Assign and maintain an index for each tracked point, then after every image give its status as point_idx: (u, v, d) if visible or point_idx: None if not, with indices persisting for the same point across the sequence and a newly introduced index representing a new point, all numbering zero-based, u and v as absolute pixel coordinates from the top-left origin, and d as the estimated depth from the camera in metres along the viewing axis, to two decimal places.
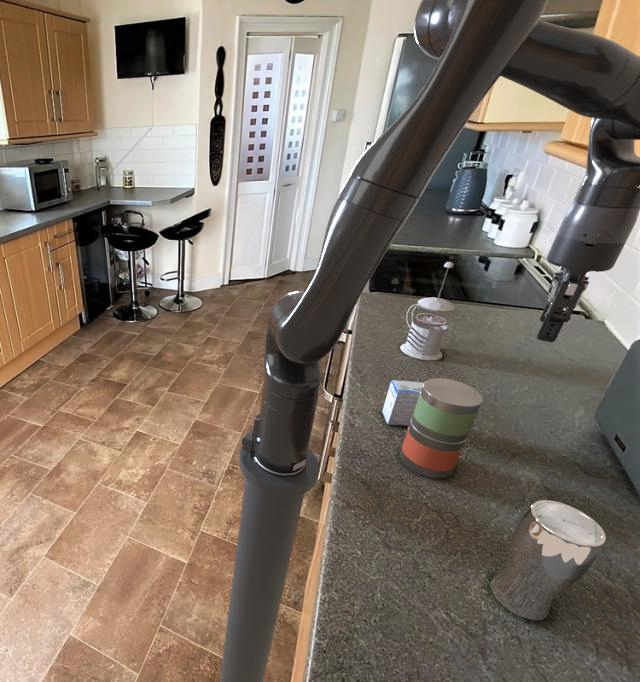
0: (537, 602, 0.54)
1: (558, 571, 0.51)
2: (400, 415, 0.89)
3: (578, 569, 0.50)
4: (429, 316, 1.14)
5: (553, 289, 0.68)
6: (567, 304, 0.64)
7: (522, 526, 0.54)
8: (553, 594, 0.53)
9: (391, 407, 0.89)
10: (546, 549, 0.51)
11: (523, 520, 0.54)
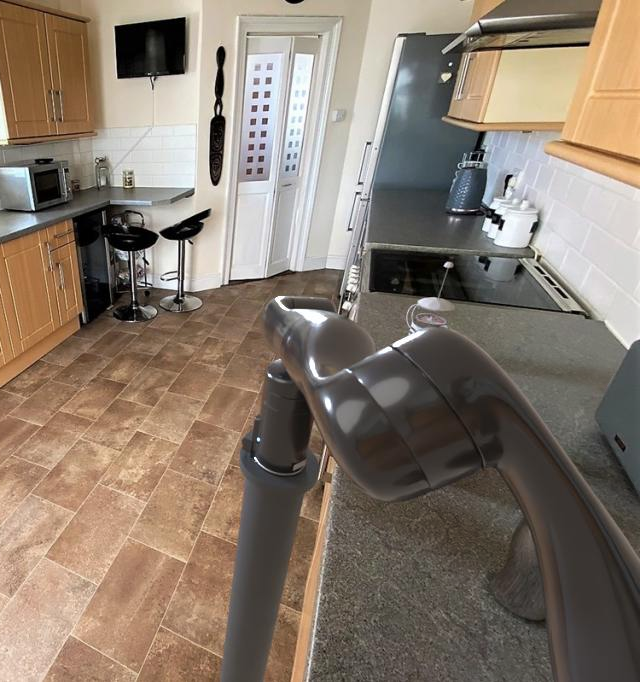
0: (537, 602, 0.54)
1: None
2: None
3: None
4: (429, 316, 1.14)
5: None
6: None
7: (522, 526, 0.54)
8: None
9: None
10: None
11: (523, 520, 0.54)
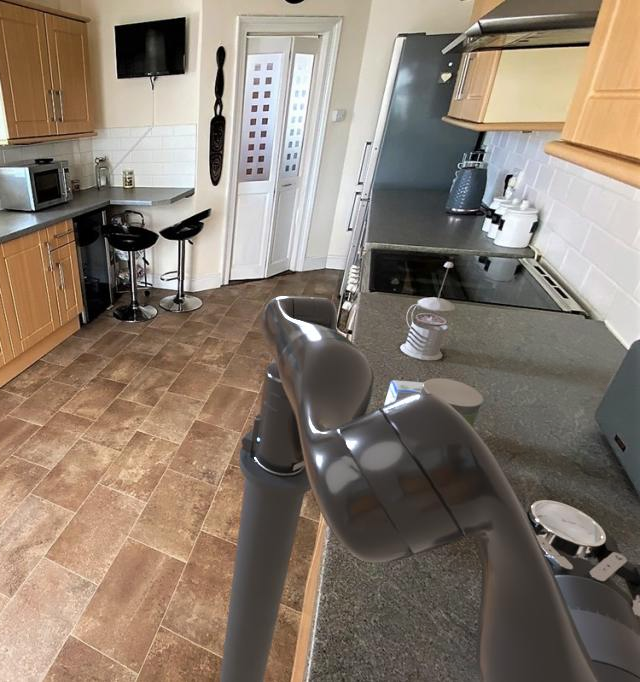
0: None
1: None
2: None
3: None
4: (429, 316, 1.14)
5: (545, 551, 0.48)
6: None
7: None
8: None
9: None
10: None
11: None
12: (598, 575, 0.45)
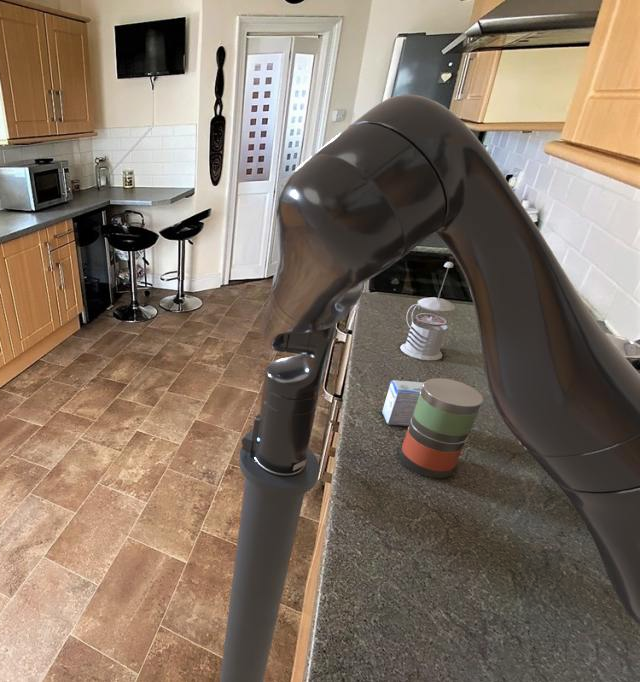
0: None
1: None
2: (400, 415, 0.89)
3: None
4: (429, 316, 1.14)
5: None
6: None
7: None
8: None
9: (391, 407, 0.89)
10: None
11: None
12: None
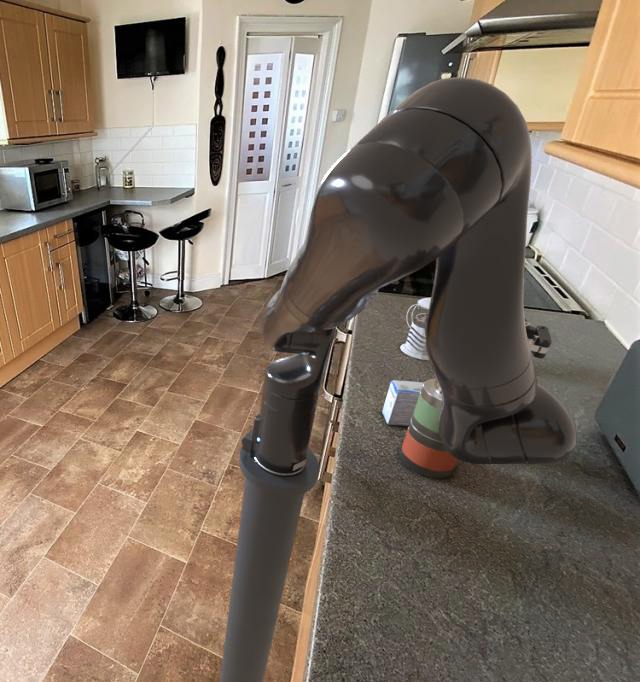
0: None
1: None
2: (400, 415, 0.89)
3: None
4: None
5: None
6: (426, 323, 0.66)
7: None
8: None
9: (391, 407, 0.89)
10: None
11: None
12: None
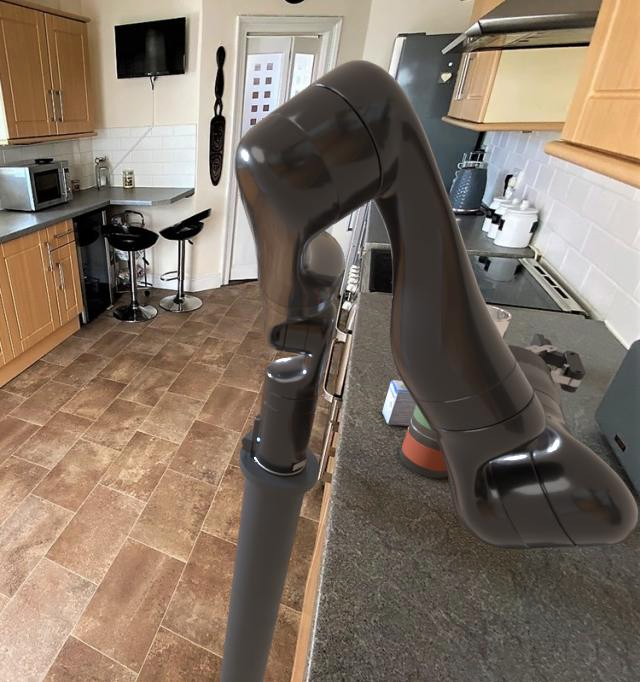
0: None
1: None
2: (400, 415, 0.89)
3: None
4: None
5: None
6: None
7: None
8: None
9: (391, 407, 0.89)
10: None
11: None
12: None
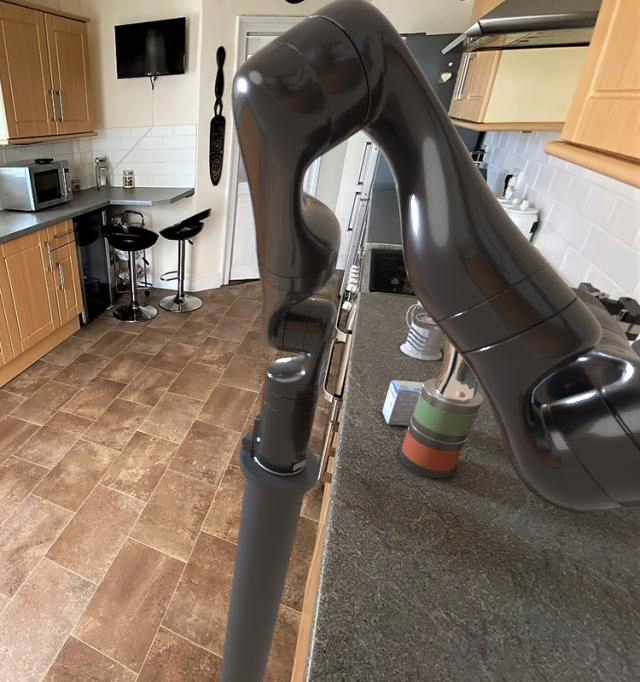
0: (465, 384, 0.69)
1: None
2: (400, 415, 0.89)
3: None
4: (429, 316, 1.14)
5: None
6: None
7: None
8: None
9: (391, 407, 0.89)
10: None
11: None
12: None
